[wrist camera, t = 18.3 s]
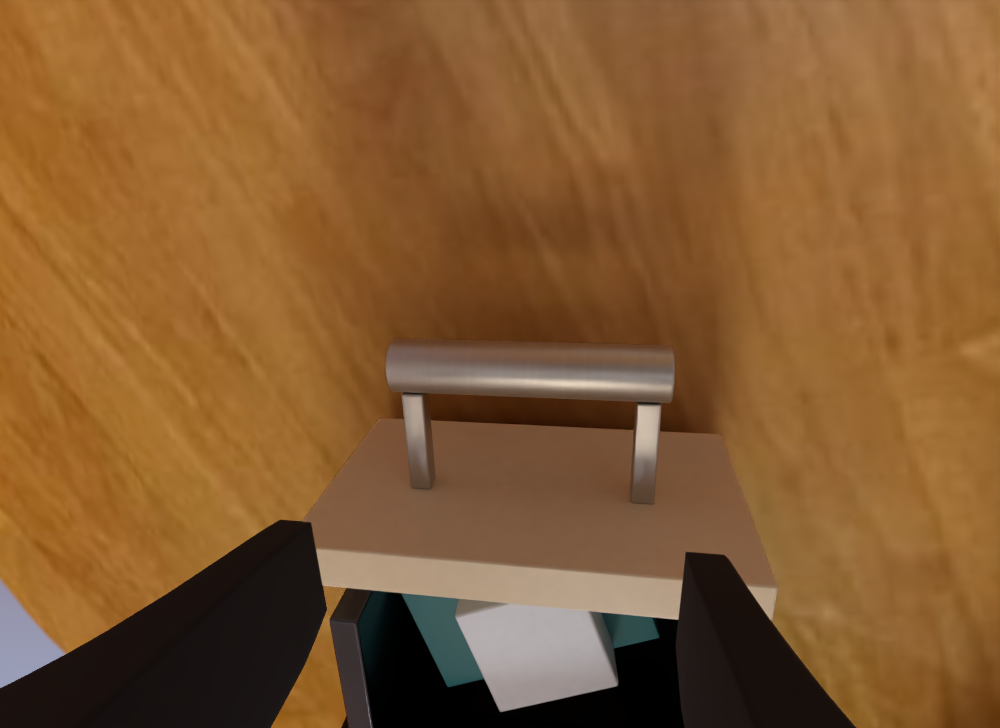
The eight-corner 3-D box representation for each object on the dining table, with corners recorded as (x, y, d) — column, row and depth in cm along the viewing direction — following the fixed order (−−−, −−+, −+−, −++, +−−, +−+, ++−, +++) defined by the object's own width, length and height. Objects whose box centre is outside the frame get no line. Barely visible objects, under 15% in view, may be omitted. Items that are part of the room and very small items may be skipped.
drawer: (364, 297, 19) (249, 383, 13) (737, 302, 17) (813, 406, 11) (412, 695, 26) (351, 878, 20) (685, 729, 24) (713, 942, 18)
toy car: (608, 472, 19) (623, 551, 15) (651, 593, 21) (675, 693, 17) (410, 530, 20) (378, 615, 17) (462, 640, 22) (444, 743, 18)
